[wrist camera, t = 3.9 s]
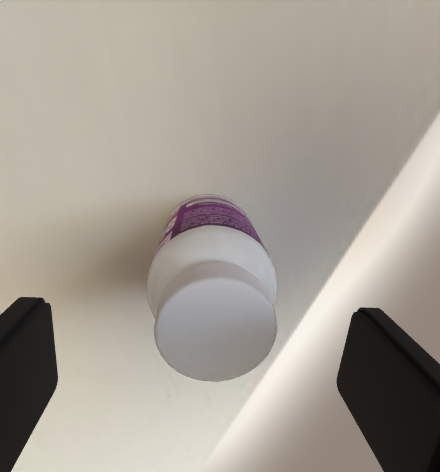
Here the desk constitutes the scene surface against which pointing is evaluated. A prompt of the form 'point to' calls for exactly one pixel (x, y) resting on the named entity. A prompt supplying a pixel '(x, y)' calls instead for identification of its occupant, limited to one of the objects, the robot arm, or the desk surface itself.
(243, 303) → the pill bottle
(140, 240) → the desk surface
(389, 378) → the robot arm
